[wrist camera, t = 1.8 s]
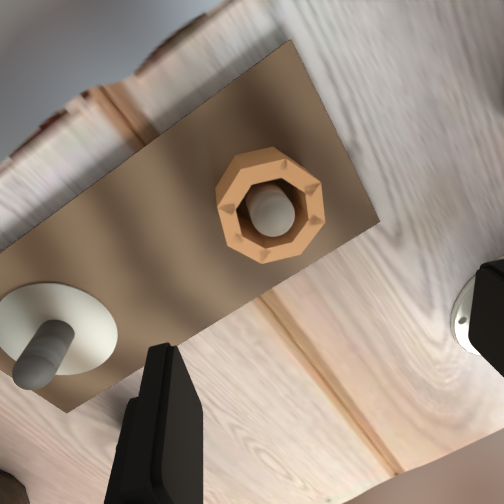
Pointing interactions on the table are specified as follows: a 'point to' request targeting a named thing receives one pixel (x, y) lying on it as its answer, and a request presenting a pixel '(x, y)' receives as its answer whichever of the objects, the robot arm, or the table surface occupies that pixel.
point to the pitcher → (12, 490)
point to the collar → (305, 204)
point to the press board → (169, 238)
